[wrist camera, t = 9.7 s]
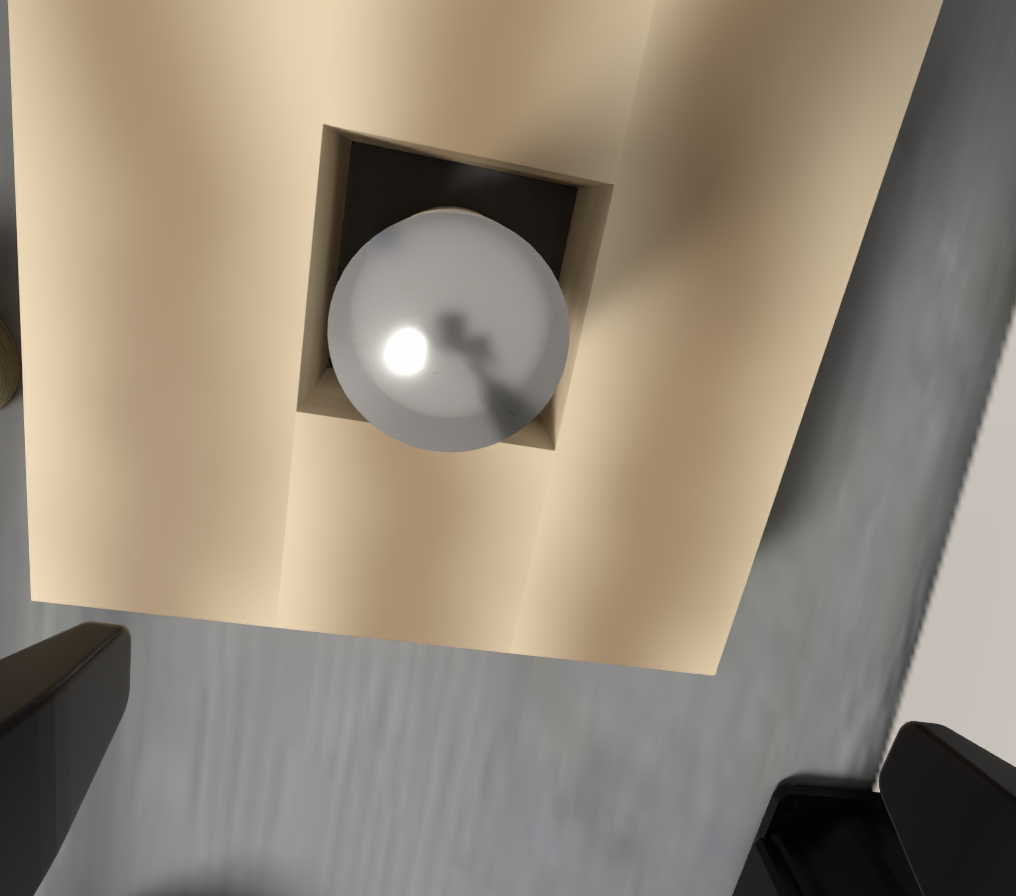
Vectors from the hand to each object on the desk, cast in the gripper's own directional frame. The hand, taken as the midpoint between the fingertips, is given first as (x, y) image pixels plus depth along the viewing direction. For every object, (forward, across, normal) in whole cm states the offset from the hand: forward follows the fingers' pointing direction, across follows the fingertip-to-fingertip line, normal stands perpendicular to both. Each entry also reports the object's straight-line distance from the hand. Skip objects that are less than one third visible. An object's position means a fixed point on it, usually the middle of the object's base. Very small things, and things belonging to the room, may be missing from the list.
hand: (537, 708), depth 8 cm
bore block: (+12, +2, -3) cm, 12 cm away
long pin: (+12, +2, -3) cm, 12 cm away
